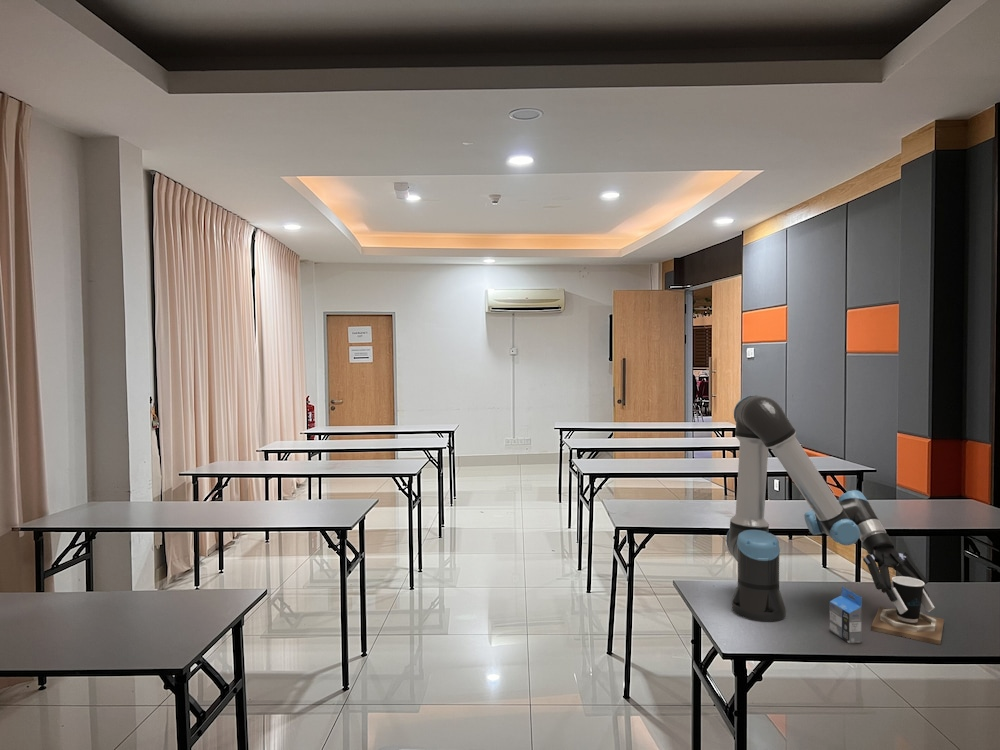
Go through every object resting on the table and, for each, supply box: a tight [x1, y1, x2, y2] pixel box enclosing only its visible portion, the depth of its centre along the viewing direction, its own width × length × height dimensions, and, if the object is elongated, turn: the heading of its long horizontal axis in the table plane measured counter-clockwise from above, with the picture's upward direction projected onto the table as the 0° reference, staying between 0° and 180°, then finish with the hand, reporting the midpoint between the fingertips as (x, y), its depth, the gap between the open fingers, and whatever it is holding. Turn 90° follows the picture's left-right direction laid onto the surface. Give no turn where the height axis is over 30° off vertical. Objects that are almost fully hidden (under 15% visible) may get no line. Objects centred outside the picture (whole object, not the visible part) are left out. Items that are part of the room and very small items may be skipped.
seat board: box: [870, 606, 945, 645], centre depth 181 cm, size 16×18×3 cm
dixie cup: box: [891, 575, 926, 623], centre depth 181 cm, size 8×8×11 cm
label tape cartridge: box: [829, 586, 863, 645], centre depth 175 cm, size 9×4×12 cm, turn 5°
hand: (917, 610), depth 178 cm, fingers closed on dixie cup, 8 cm apart
